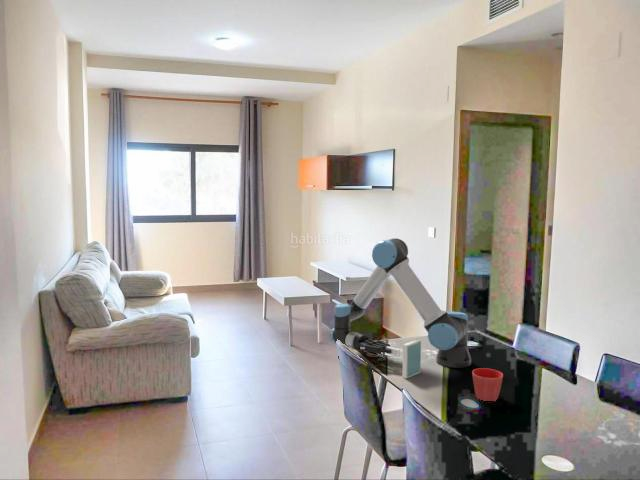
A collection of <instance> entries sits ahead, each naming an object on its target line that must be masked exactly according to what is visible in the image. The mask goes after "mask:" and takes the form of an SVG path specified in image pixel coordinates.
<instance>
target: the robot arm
mask: <svg viewBox="0 0 640 480" xmlns="http://www.w3.org/2000/svg"><path fill="white" fill-rule="evenodd" d="M371 251H372V252H371V257H372V261H373V263H374V264H375V265H376V267H375V269H374V270H373V271H372V272H371V274H370V276H368V278H367V280H366V281H365V283H364V284H363V286H362V287H361V288H360V290H359V291H358V293H356V295H355V297H354V298H353V299H352V300H351V302H350V303H348V304H347V303H337V304H335V305H334V311H333V314H334V317H333V318H334V327H333V328H331V330H330V333H329V337H328V338H329V340H330V341H331V343H333V344H336V341H337V339H338V340H340V341H341V342H342V343H343V344H345V345H346V346H347V347H346V348H350V349H351V350H356V351H358V352H359V351H360V352H370V353H375V354H381V355H386V354H389V355H392V356H394V357H395V356H396V357H399V356H400V355H401V349H400V348H396V347H392V346H391V344H389V343H387V342H384V341H382V340H380V339H377V340H373V339H369V337H368V336H367V335H366V334H363V333H359V332H356V331H353V330H352V331H351V322H353V321H355V320H357V319H360V318H361V317H362V316H364V315H365V312H366V309H367V308H368V306H369V305H370V303H371V302H372V301H373V300H374V298H375V297H376V295H377V293H379V292H380V290H381V289H382V287H383V286H384V285H385V284H386V282H387V280H388V279H389V278H390V276H392V277H393V279H394V280H395V281H396V283H397V284H398V286H399V287H400V289H401V290H402V291H403V294H405V296H406V297H407V298H408V300H409V301H410V303H411V304H412V305H413V308H414V309H415V310H416V311H417V313H418V315H419V316H420V317H421V319H422V320H423V321H424V324H423V328H424V329H425V331H426V332H427V339H428V341H429V343H430V344H431V346H432V347H433V348H435V349H438V352H437V353H436V357H435V358H436V361H435V362H436V363H437V364H439V365H441V366H444V367H447V368H456V369H457V368H458V369H459V368H460V369H461V368H466V367H470V366H472V357H471V354H470V352H469V351H470V350H469V348H468V347H469V346H468V336H469V335H468V331H469V319H468V318H469V316H468V314H467V313H464V312H461V311H450V310H448V311H447V310H442V309H441V308H440V307H439V305H438V304H437V302H436V301H435V300H434V298H433V297H432V296H431V294H430V293H429V291H428V290H427V288H426V287H425V285H424V284H423V283H422V282H421V280H420V279H419V277H418V276H417V275H416V273H415V271H414V270H413V269H412V268H411V265H410V259H409V257H408V256H409V255H408V254H409V247H408V245H407V243H406V242H405V241H404V240H402V239H400V238H389V239H383V240H381V241H378V242H377V243H376V244H375V245H374V246H373V248H372V250H371ZM336 345H337V344H336Z"/></svg>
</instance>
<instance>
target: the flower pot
mask: <svg viewBox="0 0 640 480" xmlns="http://www.w3.org/2000/svg"><path fill="white" fill-rule="evenodd" d="M471 375H472V381H473V388H474V393H475V398H476V397H477V398H478V399H477V398H476V399H477V400H479V399H480V400H479V401H481V400H483V401H482V402H484V401H494V402H497V401H498V400H497V399H499V395H500V392H501V388H502V384H503V378H504V374H503V372H501V371H499V370H496V369H492V368H488V367H486V368H485V367H483V368H482V367H479V368H478V367H477V368H475V369H473V370H472V371H471ZM496 400H497V401H496Z"/></svg>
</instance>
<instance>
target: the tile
mask: <svg viewBox="0 0 640 480" xmlns="http://www.w3.org/2000/svg"><path fill="white" fill-rule="evenodd" d="M421 349H422V340H420V339H414V340H411V341H410V342H409V341H408V342H406V343H402V371H401V372H402V379H406V380H407V379H409V378H412V377H414V376H416V375H418V374H421V369H422V368H421V357H422V356H421V355H422V352H421V351H422V350H421Z"/></svg>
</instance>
